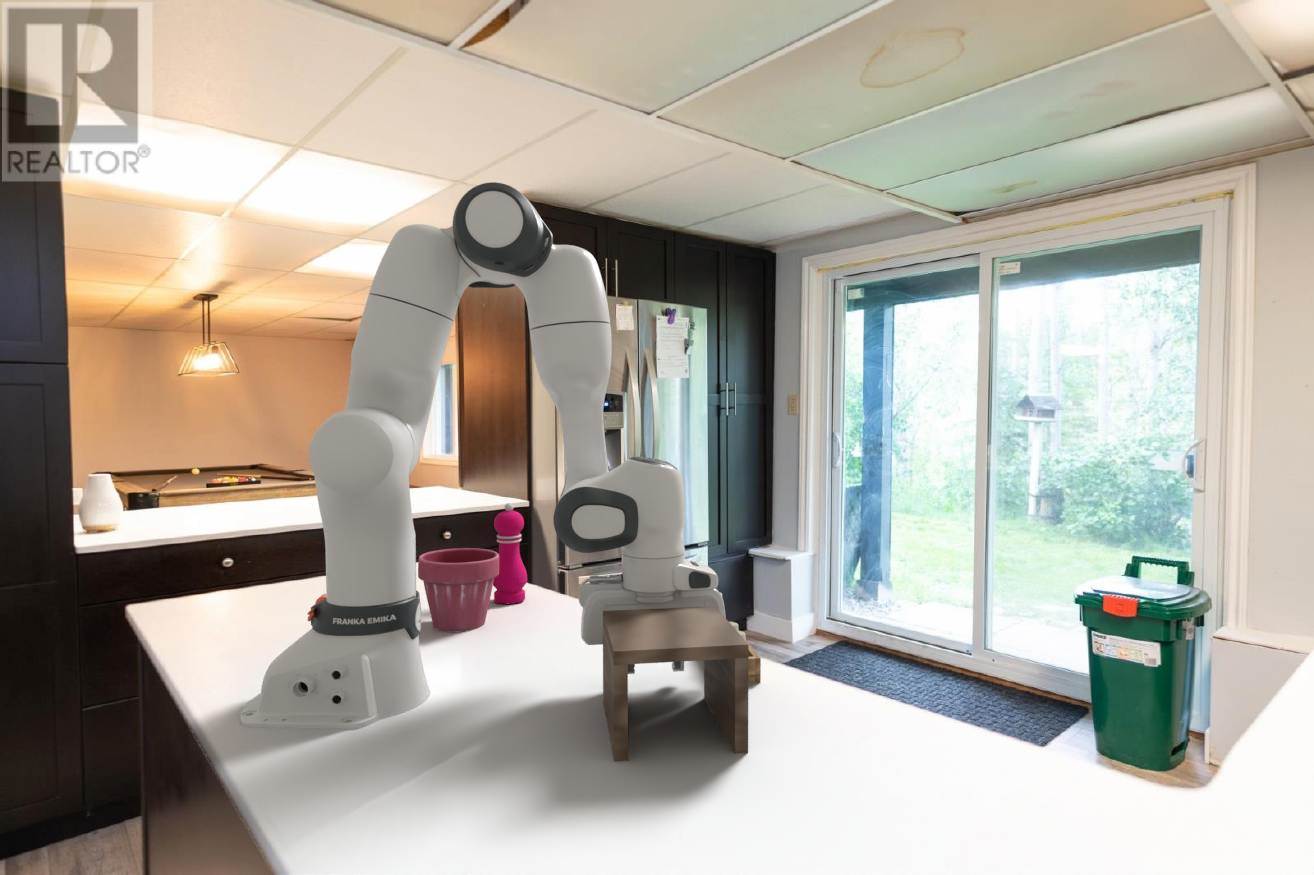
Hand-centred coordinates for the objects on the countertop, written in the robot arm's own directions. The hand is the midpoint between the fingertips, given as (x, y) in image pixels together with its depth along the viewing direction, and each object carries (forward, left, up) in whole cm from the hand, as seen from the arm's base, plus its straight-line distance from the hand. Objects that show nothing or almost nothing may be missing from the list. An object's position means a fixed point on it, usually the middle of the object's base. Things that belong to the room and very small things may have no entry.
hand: (653, 671), depth 99 cm
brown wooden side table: (0, -14, -2) cm, 14 cm away
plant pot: (-30, +34, -2) cm, 46 cm away
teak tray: (+13, +8, -2) cm, 15 cm away
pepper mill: (-22, +50, -2) cm, 55 cm away
